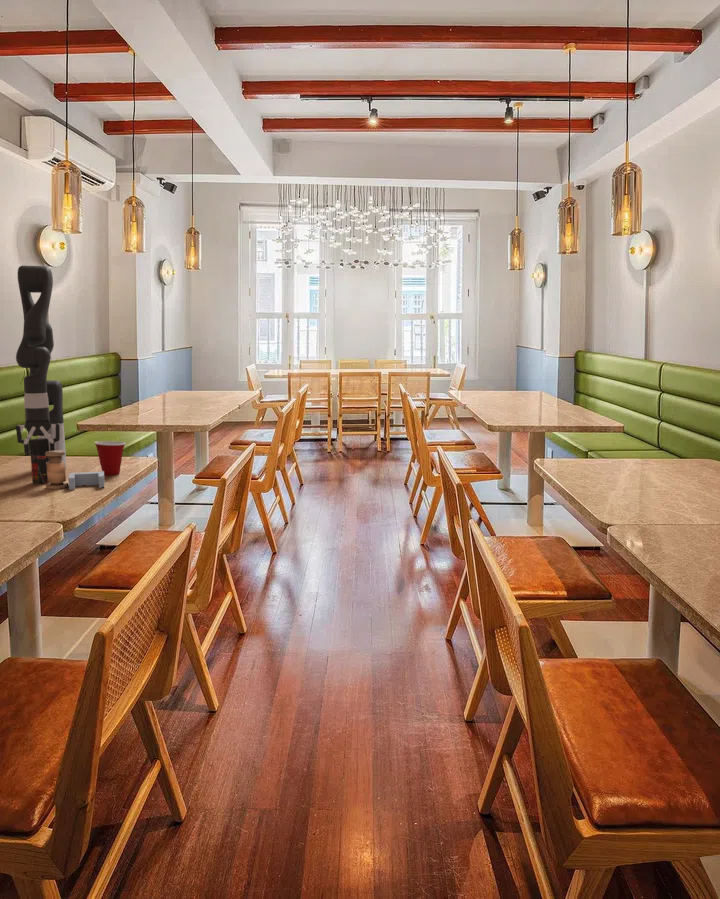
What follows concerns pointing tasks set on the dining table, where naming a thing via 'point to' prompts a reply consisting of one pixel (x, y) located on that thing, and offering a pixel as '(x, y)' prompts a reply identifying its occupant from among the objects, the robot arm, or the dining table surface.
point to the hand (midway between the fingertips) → (39, 454)
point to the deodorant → (39, 460)
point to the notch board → (86, 479)
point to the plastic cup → (110, 456)
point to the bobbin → (56, 470)
